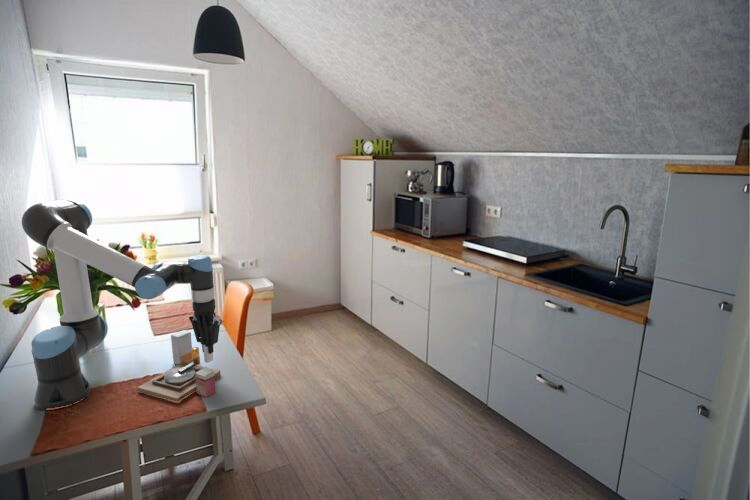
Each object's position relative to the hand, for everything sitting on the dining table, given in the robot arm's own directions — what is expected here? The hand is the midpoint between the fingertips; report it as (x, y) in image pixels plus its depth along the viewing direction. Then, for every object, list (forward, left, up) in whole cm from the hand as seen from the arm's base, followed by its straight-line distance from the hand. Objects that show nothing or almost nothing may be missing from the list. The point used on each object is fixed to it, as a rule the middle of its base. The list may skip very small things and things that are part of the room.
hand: (208, 360), depth 158 cm
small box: (-9, -7, -7) cm, 13 cm away
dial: (-6, +6, -4) cm, 9 cm away
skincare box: (+5, +18, -7) cm, 20 cm away
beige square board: (-8, +6, -6) cm, 12 cm away
